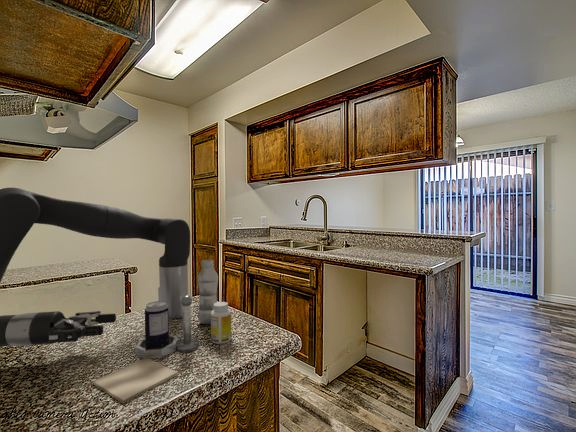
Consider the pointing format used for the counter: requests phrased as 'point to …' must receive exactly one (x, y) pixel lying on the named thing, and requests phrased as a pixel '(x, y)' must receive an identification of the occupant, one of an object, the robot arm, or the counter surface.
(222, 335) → the supplement bottle
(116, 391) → the birch board
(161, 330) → the beverage can
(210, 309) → the plastic bottle
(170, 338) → the steel ring stand
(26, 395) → the counter surface
